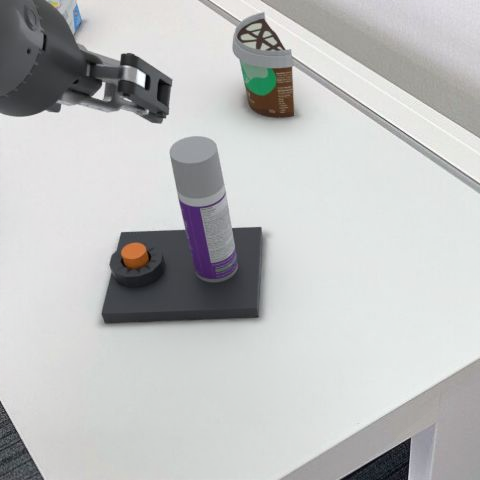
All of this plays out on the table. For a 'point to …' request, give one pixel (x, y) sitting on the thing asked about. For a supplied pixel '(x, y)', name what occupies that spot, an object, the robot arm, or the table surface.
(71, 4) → the ink box
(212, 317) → the scale
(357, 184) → the table surface
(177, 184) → the container
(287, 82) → the food container
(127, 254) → the button
